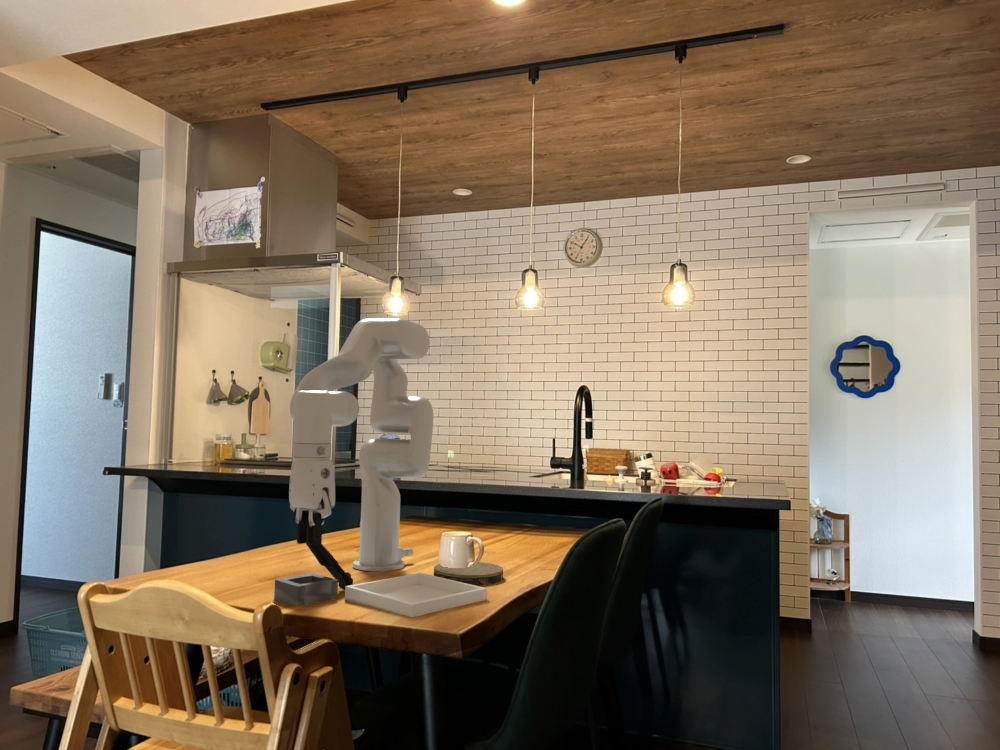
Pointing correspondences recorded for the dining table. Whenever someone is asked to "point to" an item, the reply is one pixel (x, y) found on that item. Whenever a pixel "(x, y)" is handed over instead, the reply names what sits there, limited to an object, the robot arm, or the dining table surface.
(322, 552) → the electric trimmer
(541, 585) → the dining table surface
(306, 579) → the socket block
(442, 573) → the wooden log coaster
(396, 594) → the tray
